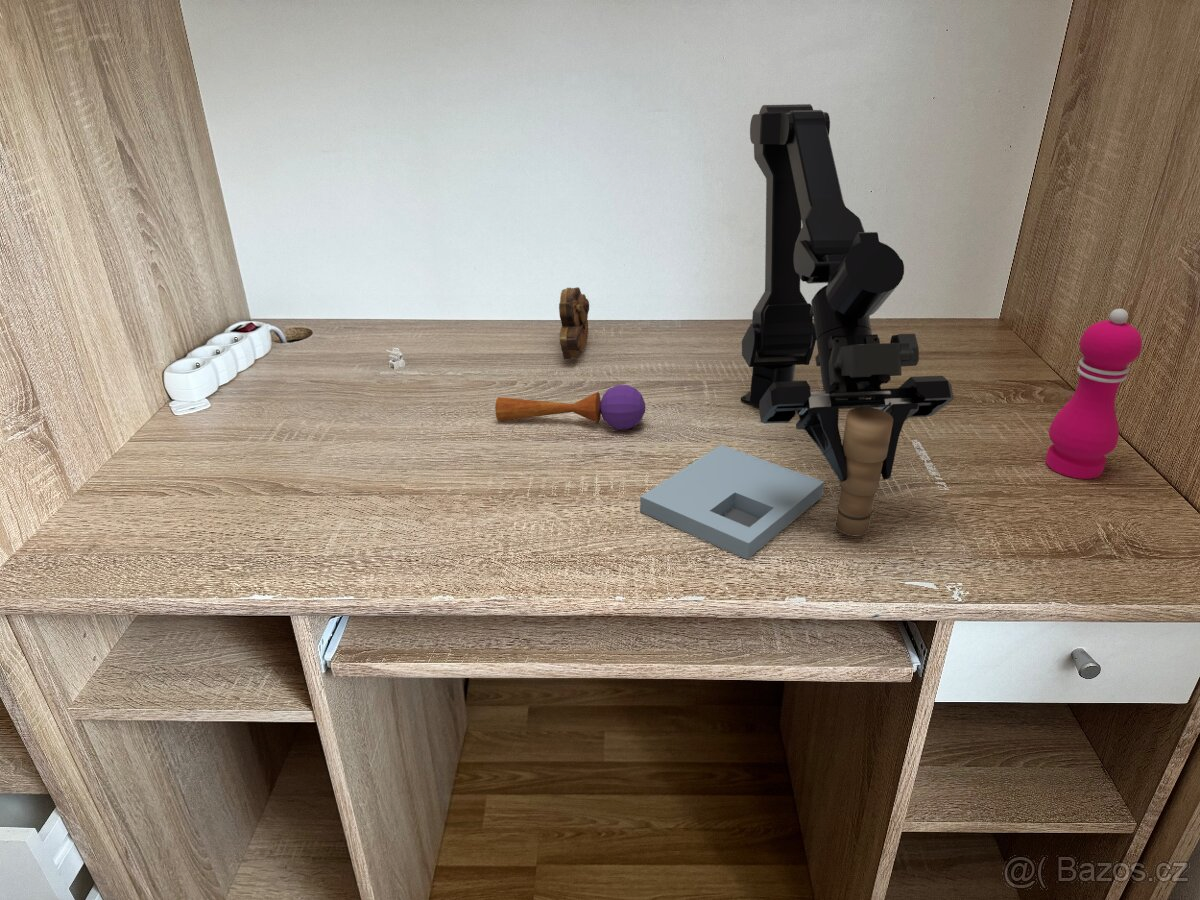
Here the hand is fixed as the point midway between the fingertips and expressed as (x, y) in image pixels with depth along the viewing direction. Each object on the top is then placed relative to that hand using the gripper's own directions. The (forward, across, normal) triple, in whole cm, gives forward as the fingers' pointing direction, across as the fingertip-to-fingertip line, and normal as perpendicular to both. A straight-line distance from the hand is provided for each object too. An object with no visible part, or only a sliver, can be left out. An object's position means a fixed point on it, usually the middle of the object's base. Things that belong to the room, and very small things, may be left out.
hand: (865, 479), depth 83 cm
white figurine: (-31, -57, +43) cm, 78 cm away
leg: (+4, 0, +6) cm, 7 cm away
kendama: (-16, -29, +28) cm, 43 cm away
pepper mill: (-4, +32, +15) cm, 35 cm away
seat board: (0, -11, +11) cm, 16 cm away
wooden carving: (-35, -27, +47) cm, 64 cm away
